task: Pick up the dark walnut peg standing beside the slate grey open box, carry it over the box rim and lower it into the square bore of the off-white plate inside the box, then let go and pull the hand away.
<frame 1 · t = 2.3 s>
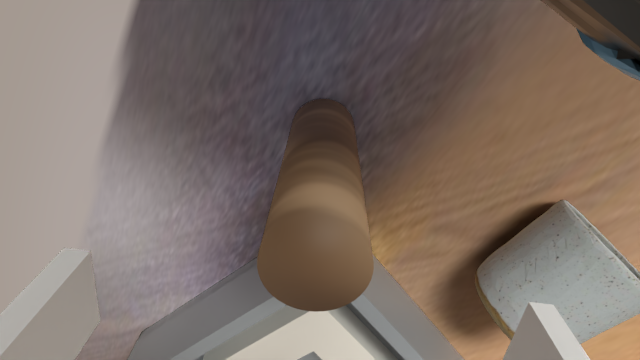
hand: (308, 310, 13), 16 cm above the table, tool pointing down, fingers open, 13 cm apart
grey box: (309, 350, 36), on the table
ceramic mug: (545, 253, 31), on the table
walnut peg: (323, 129, 27), on the table
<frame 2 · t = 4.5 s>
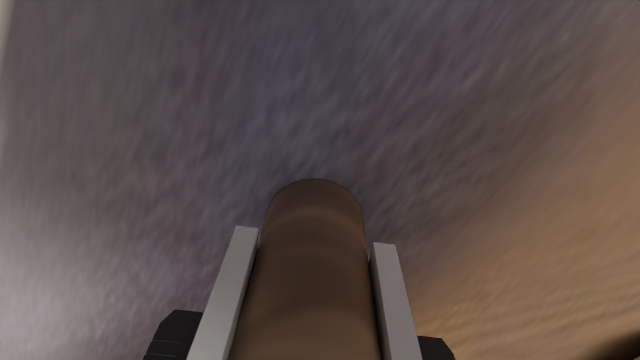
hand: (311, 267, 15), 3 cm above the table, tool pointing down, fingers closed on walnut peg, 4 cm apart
walnut peg: (314, 222, 18), on the table, touching gripper
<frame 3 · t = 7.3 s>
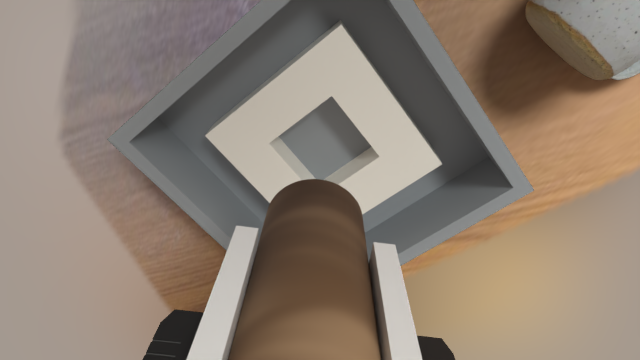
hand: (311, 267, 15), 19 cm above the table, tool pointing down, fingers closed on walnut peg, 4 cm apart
grey box: (325, 132, 33), on the table
walnut peg: (314, 222, 17), point 16 cm above the table, touching gripper
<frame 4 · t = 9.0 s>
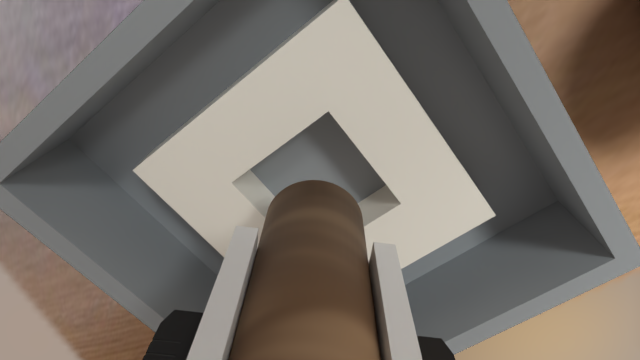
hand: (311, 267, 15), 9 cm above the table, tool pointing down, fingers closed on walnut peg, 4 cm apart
grey box: (318, 162, 23), on the table
walnut peg: (314, 223, 17), point 6 cm above the table, touching gripper
when the fingers open (5 cm above the table, at t = 10.2 s): walnut peg stays where it is, resting on grey box.
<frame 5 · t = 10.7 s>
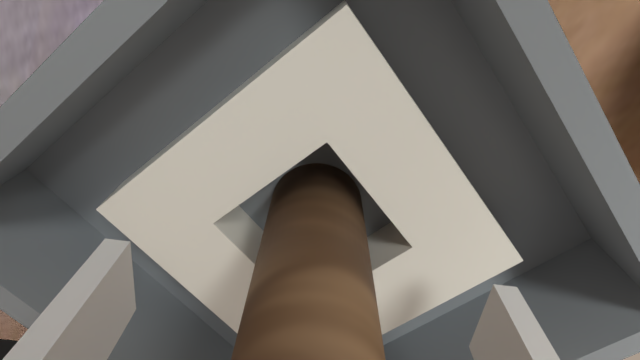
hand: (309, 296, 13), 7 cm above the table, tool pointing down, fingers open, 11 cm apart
grey box: (316, 193, 20), on the table
walnut peg: (316, 204, 19), point 1 cm above the table, touching grey box
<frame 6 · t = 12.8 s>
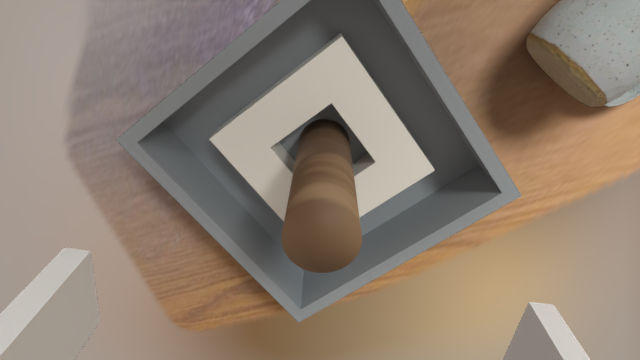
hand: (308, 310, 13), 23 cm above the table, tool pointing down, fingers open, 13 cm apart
grey box: (323, 139, 35), on the table
ceramic mug: (593, 33, 31), on the table
walnut peg: (324, 143, 34), point 1 cm above the table, touching grey box
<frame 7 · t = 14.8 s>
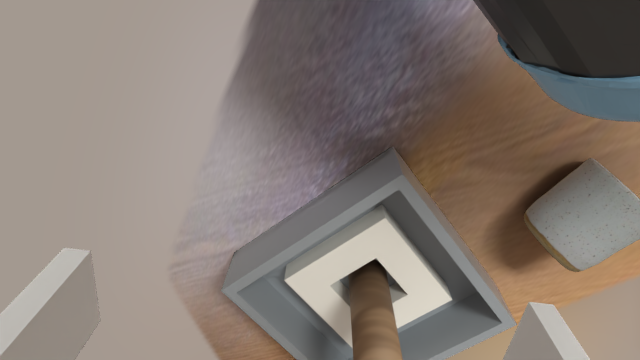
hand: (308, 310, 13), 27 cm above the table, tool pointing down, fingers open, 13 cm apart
grey box: (366, 268, 45), on the table
ceramic mug: (574, 202, 42), on the table
walnut peg: (367, 274, 44), point 1 cm above the table, touching grey box
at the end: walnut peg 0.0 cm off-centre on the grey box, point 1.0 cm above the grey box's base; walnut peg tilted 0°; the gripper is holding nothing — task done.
